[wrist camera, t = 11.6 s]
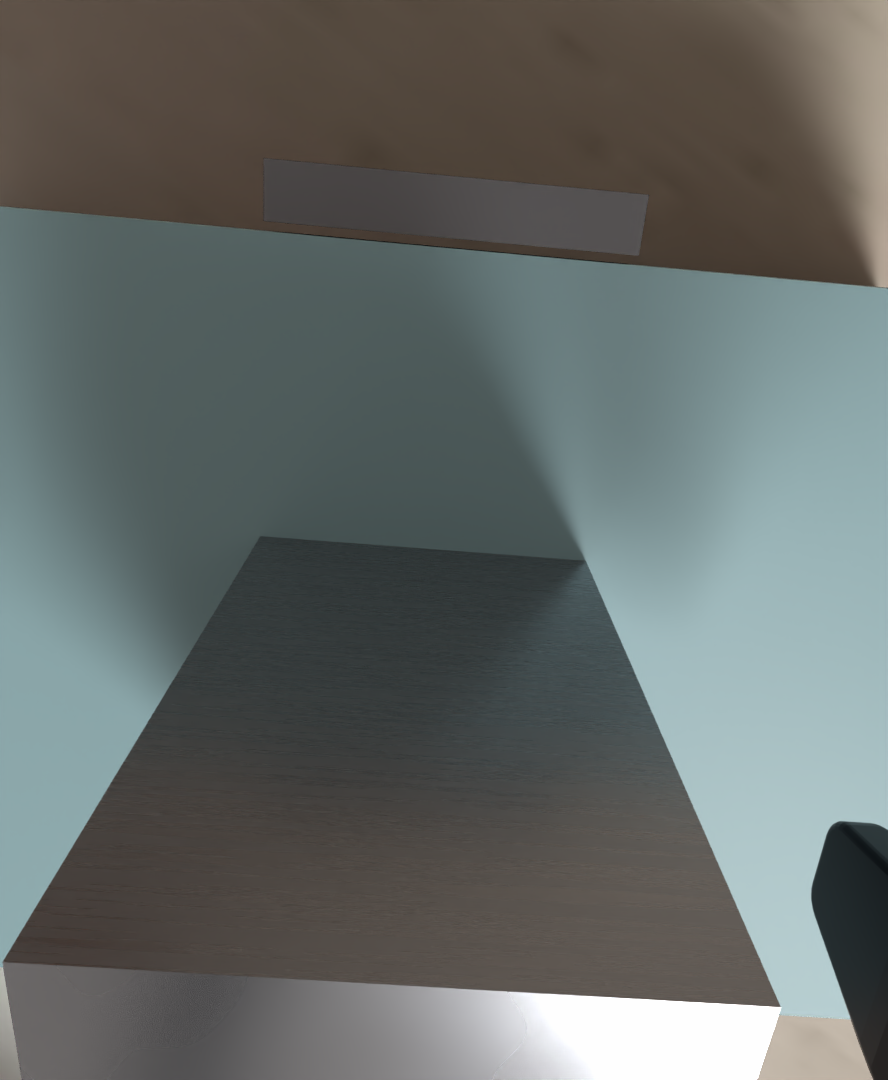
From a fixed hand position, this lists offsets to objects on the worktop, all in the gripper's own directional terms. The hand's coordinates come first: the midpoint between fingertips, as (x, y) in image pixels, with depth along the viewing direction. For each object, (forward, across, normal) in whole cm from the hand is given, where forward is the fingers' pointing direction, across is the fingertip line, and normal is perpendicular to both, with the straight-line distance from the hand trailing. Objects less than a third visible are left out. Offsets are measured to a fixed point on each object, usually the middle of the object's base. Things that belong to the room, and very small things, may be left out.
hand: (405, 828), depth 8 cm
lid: (+4, 0, 0) cm, 4 cm away
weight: (+3, 0, 0) cm, 3 cm away
